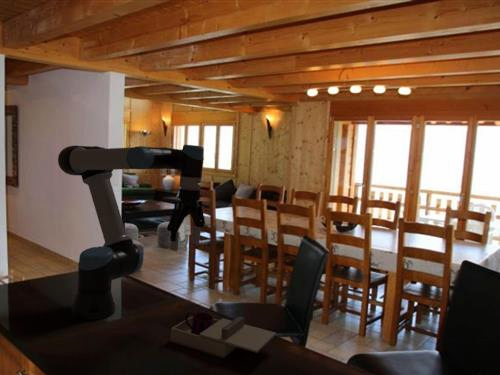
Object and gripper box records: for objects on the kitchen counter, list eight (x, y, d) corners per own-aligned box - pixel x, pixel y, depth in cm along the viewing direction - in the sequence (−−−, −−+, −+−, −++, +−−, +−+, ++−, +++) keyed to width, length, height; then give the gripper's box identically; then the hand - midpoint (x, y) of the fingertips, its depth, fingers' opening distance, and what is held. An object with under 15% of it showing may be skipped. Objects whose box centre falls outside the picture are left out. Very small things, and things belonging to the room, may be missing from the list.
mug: (201, 342, 141) (204, 323, 140) (179, 330, 146) (182, 311, 145) (214, 336, 147) (217, 317, 146) (192, 325, 152) (195, 306, 151)
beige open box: (170, 341, 142) (171, 328, 141) (195, 325, 155) (196, 313, 155) (224, 358, 133) (225, 344, 133) (245, 340, 147) (246, 327, 147)
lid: (199, 335, 137) (200, 324, 136) (222, 320, 150) (223, 309, 150) (256, 352, 128) (257, 341, 128) (276, 334, 142) (276, 323, 142)
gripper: (177, 191, 142) (172, 255, 144) (217, 188, 164) (212, 243, 166) (159, 188, 145) (154, 250, 147) (200, 185, 167) (195, 239, 169)
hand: (185, 247), depth 156 cm, fingers open, 13 cm apart
